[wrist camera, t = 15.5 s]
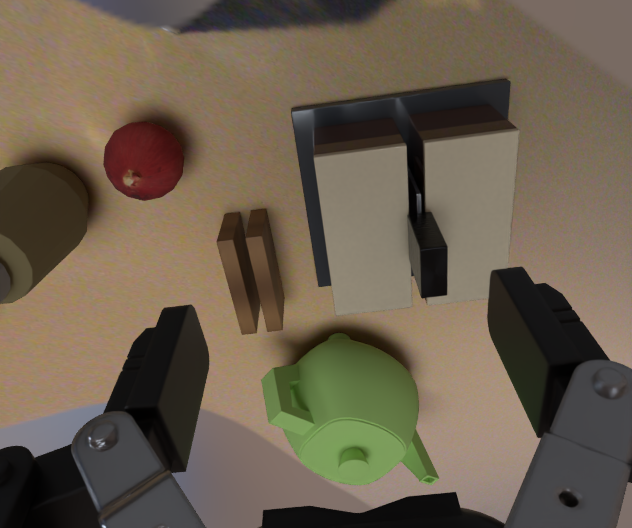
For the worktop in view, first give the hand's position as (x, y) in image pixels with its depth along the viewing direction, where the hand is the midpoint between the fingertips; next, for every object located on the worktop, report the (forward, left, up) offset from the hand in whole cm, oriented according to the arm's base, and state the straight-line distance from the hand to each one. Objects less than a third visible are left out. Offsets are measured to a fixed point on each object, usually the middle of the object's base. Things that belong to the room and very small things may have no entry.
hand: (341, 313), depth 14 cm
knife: (+11, +6, -29) cm, 32 cm away
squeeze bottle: (+7, -24, -30) cm, 39 cm away
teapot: (+32, -1, -30) cm, 44 cm away
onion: (+4, -14, -30) cm, 34 cm away
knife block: (+16, -8, -30) cm, 35 cm away
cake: (+11, +6, -30) cm, 33 cm away
